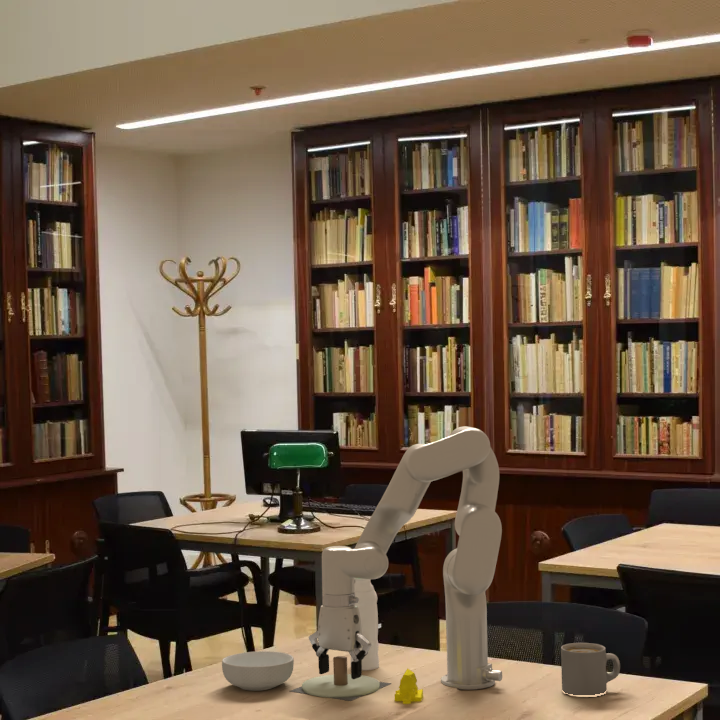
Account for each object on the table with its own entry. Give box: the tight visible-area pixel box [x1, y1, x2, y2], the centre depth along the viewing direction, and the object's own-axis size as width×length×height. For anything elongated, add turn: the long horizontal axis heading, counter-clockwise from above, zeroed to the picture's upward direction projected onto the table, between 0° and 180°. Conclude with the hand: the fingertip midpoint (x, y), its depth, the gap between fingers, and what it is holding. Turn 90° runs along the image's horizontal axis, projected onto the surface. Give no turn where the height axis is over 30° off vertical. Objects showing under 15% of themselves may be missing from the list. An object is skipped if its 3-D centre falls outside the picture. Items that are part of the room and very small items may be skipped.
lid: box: [301, 655, 381, 699], centre depth 273 cm, size 18×18×7 cm
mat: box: [289, 681, 392, 702], centre depth 273 cm, size 17×17×1 cm
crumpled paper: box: [394, 667, 424, 705], centre depth 262 cm, size 6×8×8 cm
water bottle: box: [350, 578, 380, 671], centre depth 292 cm, size 7×7×25 cm
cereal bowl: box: [221, 650, 295, 692], centre depth 277 cm, size 17×17×7 cm
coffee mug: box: [560, 642, 621, 695], centre depth 266 cm, size 13×10×10 cm
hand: (340, 675), depth 273 cm, fingers open, 8 cm apart
